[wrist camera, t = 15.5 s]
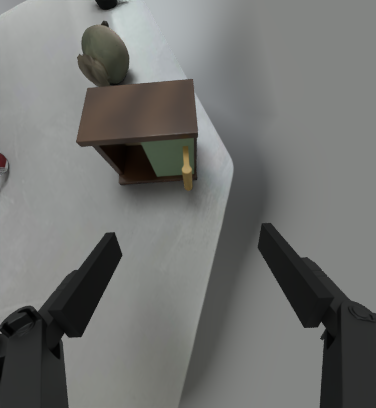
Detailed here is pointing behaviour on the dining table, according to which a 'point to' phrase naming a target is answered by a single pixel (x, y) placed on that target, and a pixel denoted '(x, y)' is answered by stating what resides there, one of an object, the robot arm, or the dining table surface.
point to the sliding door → (172, 158)
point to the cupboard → (138, 125)
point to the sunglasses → (3, 164)
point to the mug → (106, 3)
